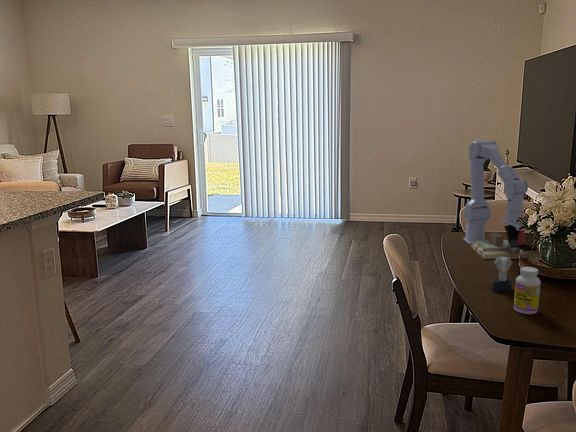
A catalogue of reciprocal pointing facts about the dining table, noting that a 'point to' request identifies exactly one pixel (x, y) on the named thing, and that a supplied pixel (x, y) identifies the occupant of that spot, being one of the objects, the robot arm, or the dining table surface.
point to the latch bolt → (513, 244)
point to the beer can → (521, 238)
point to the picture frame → (495, 252)
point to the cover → (494, 241)
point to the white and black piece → (502, 275)
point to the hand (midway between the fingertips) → (511, 244)
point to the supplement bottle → (527, 291)
